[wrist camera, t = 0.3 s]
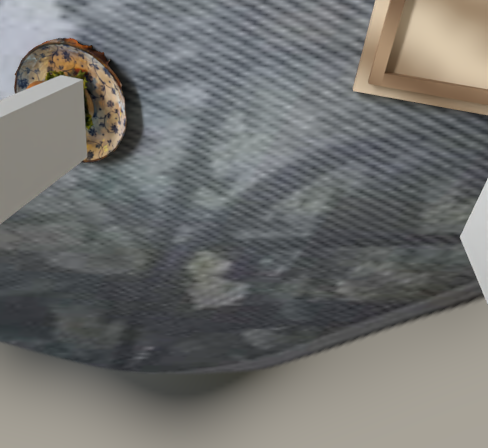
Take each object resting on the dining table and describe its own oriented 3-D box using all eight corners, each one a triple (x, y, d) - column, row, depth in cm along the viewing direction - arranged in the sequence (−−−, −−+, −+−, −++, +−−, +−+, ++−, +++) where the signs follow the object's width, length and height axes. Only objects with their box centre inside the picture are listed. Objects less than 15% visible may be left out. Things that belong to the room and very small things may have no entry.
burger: (87, 176, 49) (50, 208, 43) (3, 91, 46) (-52, 112, 39) (159, 110, 44) (127, 135, 37) (68, 8, 40) (17, 16, 34)
